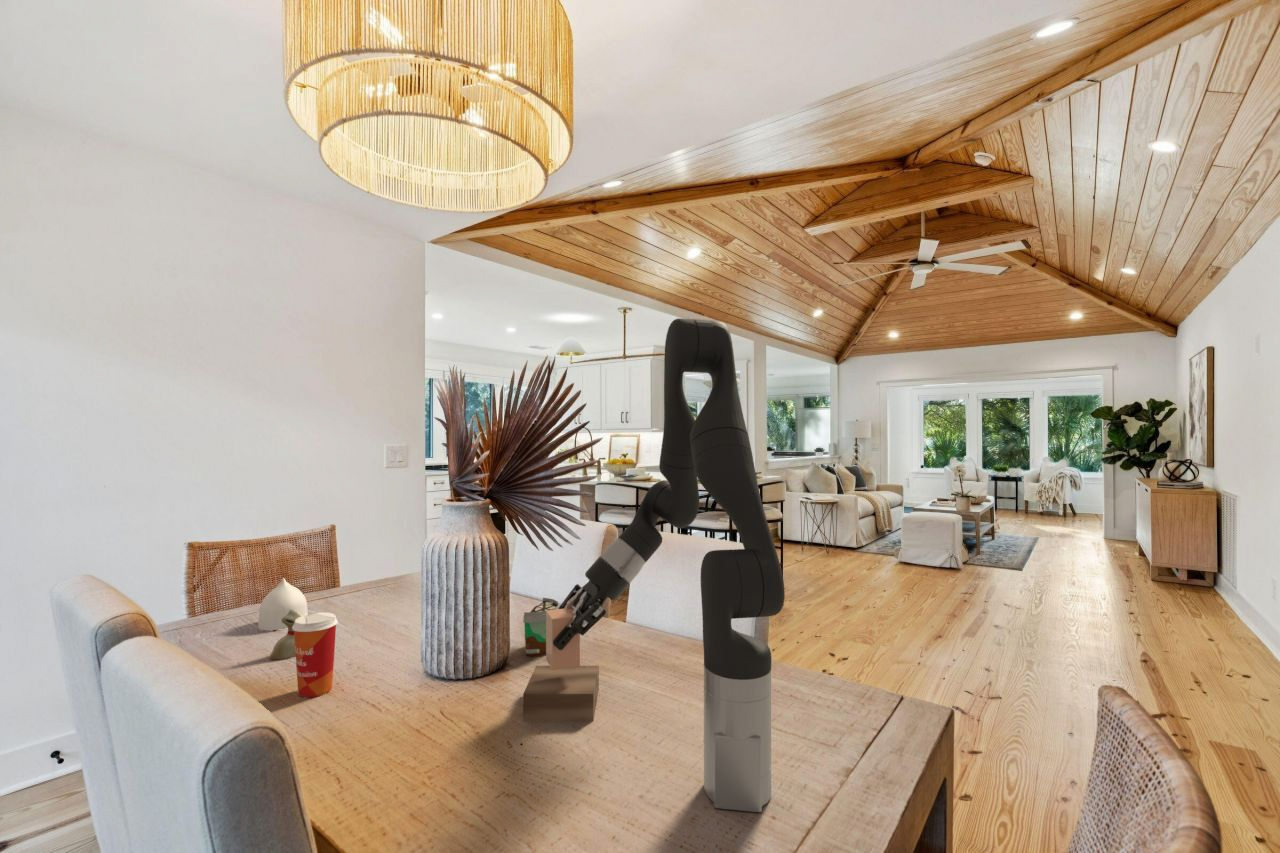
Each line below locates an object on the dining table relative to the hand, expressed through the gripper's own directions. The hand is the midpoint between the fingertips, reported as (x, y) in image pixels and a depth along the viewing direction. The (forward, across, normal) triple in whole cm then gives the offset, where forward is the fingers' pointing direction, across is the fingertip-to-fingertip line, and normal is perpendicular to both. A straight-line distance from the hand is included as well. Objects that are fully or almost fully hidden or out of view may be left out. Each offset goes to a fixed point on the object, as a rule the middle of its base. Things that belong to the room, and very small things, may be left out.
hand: (553, 641), depth 107 cm
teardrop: (+47, -69, -29) cm, 89 cm away
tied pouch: (+43, -45, -26) cm, 67 cm away
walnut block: (+7, 0, +10) cm, 12 cm away
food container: (+5, -27, +12) cm, 30 cm away
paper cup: (+37, -22, -20) cm, 48 cm away
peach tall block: (+2, 0, +4) cm, 5 cm away
